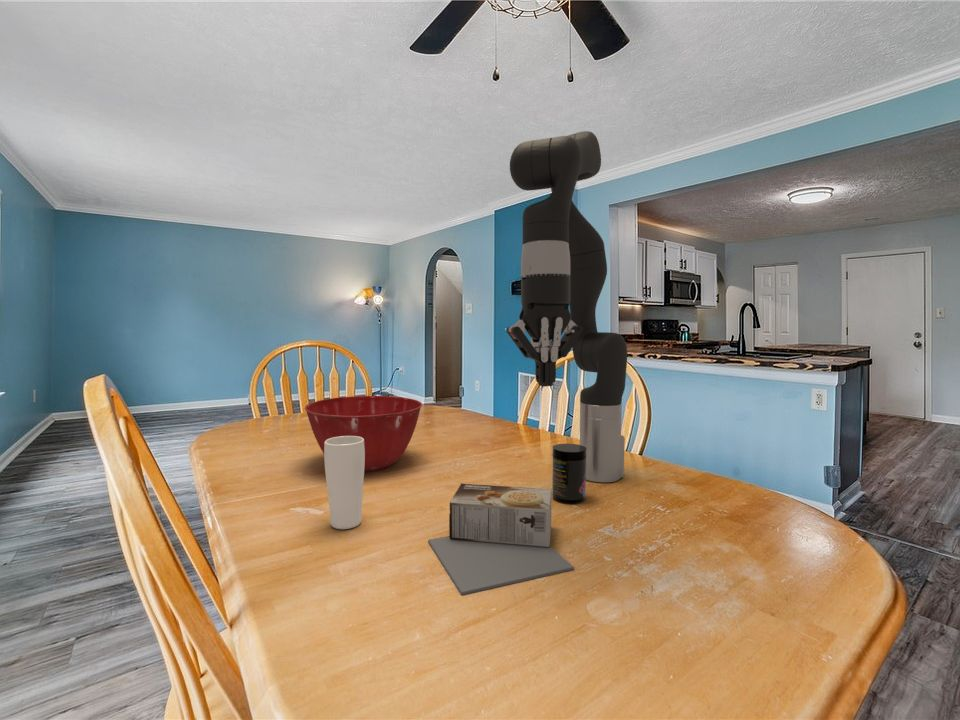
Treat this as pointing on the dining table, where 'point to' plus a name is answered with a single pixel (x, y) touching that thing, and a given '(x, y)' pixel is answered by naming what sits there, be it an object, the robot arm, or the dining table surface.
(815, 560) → the dining table surface
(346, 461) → the drinking glass
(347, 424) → the mixing bowl
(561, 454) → the supplement container
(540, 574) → the slate mat
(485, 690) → the dining table surface
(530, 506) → the coffee box
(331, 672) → the dining table surface
